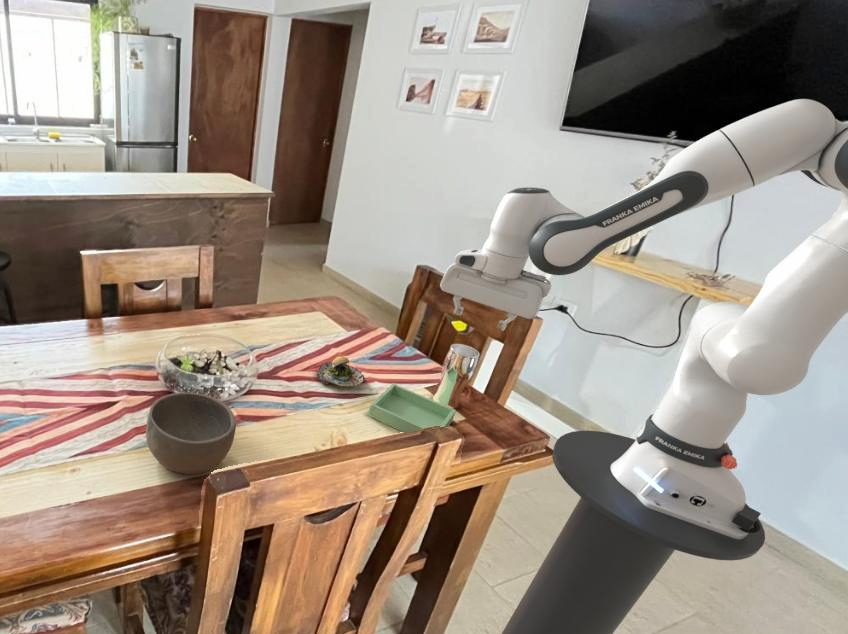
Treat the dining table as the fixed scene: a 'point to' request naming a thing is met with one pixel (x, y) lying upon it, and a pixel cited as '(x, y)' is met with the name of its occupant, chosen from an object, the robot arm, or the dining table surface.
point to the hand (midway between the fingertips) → (478, 321)
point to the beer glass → (456, 374)
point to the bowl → (190, 432)
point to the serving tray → (409, 410)
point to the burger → (340, 373)
